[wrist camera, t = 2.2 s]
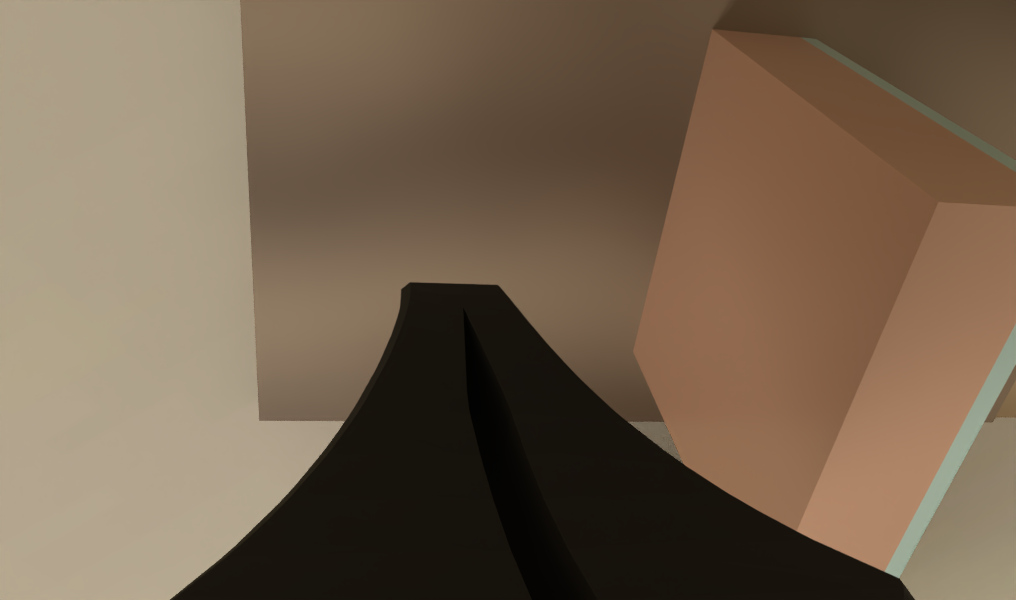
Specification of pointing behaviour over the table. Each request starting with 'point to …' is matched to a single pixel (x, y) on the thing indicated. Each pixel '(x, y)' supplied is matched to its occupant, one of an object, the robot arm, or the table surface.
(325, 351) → the board
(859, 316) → the tile
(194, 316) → the table surface
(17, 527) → the table surface
